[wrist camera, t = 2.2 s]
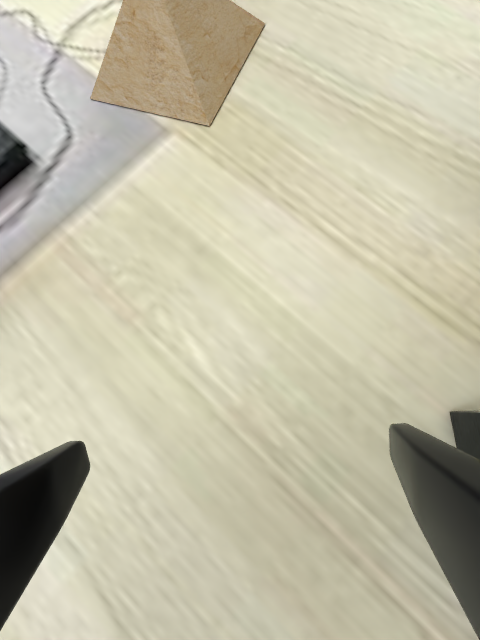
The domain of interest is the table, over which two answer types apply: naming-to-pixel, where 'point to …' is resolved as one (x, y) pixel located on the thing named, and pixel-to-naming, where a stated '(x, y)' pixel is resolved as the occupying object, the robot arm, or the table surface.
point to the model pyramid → (176, 56)
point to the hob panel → (467, 431)
